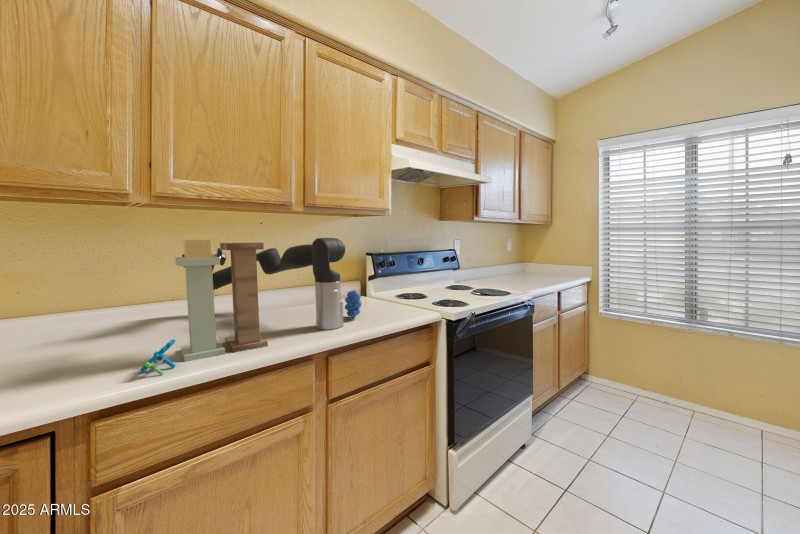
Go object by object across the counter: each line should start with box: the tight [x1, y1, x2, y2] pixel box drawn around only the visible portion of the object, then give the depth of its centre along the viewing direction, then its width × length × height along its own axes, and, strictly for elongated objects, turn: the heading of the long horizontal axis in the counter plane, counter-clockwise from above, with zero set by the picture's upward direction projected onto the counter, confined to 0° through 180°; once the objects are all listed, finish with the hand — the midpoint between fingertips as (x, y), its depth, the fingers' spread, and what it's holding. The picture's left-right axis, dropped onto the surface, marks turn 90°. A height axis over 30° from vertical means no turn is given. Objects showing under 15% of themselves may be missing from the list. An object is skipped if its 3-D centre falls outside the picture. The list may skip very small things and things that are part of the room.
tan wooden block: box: [183, 239, 212, 259], centre depth 104 cm, size 21×6×5 cm, turn 36°
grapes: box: [344, 289, 363, 319], centre depth 144 cm, size 12×7×12 cm, turn 37°
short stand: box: [174, 256, 226, 362], centre depth 101 cm, size 12×10×28 cm
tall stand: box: [219, 241, 269, 353], centre depth 108 cm, size 12×10×32 cm
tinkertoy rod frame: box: [139, 338, 177, 376], centre depth 89 cm, size 11×6×10 cm
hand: (206, 250), depth 126 cm, fingers open, 8 cm apart
